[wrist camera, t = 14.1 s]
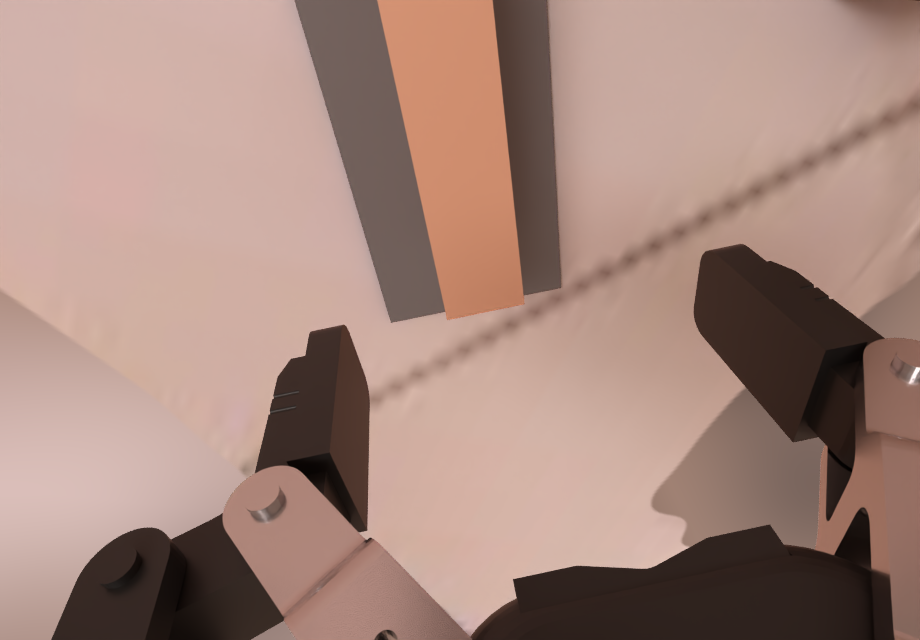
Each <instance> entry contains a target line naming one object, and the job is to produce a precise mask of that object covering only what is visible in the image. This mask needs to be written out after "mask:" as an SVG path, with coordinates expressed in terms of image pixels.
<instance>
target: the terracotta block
mask: <svg viewBox="0 0 920 640" xmlns="http://www.w3.org/2000/svg"><path fill="white" fill-rule="evenodd" d="M377 2H378V6H379V11H380V15H381V20H382V24H383V29H384V34H385V38H386V43H387V47H388V52H389V56H390V61H391V66H392V70H393V75H394V79H395V84H396V88H397V93H398V98H399V102H400V107H401V111H402V116H403V120H404V125H405V130H406V134H407V139H408V143H409V148H410V152H411V157H412V162H413V166H414V171H415V175H416V180H417V184H418V189H419V194H420V198H421V203H422V207H423V212H424V216H425V221H426V226H427V230H428V235H429V239H430V244H431V248H432V253H433V258H434V262H435V267H436V271H437V276H438V280H439V285H440V289H441V294H442V299H443V303H444V308H445V312H446V317H447V320H450V319H455V318H460V317H465V316H469V315H474V314H479V313H484V312H489V311H494V310H498V309H503V308H508V307H513V306H518V305H523V304H524V295H523V285H522V276H521V266H520V257H519V247H518V237H517V228H516V218H515V209H514V199H513V190H512V180H511V171H510V161H509V152H508V142H507V133H506V123H505V114H504V104H503V95H502V85H501V76H500V66H499V57H498V47H497V38H496V28H495V18H494V9H493V0H377Z"/></svg>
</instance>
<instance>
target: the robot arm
mask: <svg viewBox="0 0 920 640" xmlns="http://www.w3.org/2000/svg"><path fill="white" fill-rule="evenodd" d="M694 318H695V322H696V325H697V328H698V330H699V332H700V333H701V335H702V336H703V337H704V338H705V340H706V341H707V342H708V343H709V344H710V346H711V347H712V348H713V349H714V350H715V351H716V353H717V354H718V355H719V356H720V357H721V358H722V360H723V361H724V362H725V363H726V364H727V365H728V367H729V368H730V369H731V370H732V371H733V372H734V374H735V375H736V376H737V377H738V378H739V380H740V381H741V382H742V383H743V384H744V385H745V387H746V388H747V389H748V390H749V391H750V392H751V394H752V395H753V396H754V397H755V398H756V399H757V401H758V402H759V403H760V404H761V405H762V406H763V408H764V409H765V410H766V411H767V412H768V413H769V415H770V416H771V417H772V418H773V419H774V420H775V422H776V423H777V424H778V425H779V426H780V428H781V429H782V430H783V431H784V432H785V434H786V435H787V436H788V437H789V438H790V439H791V441H792V442H797V441H802V440H807V439H811V438H816V437H819V438H820V439H821V440H822V441H823V442H824V443H825V446H824V449H823V451H822V454H821V469H820V493H819V520H818V536H817V542H816V546H815V550H814V549H810V548H805V547H799V546H792V545H783V543H782V542H781V540H780V539H779V537H778V536H777V534H776V533H775V531H774V530H773V529H772V527H771V526H770V525H766V526H761V527H756V528H752V529H747V530H742V531H737V532H733V533H728V534H723V535H719V536H714V537H709V538H706V539H704V540H702V541H701V542H699V543H697V544H695V545H693V546H691V547H690V548H688V549H686V550H684V551H682V552H680V553H679V554H677V555H675V556H673V557H671V558H669V559H668V560H666V561H664V562H662V563H660V564H658V565H657V566H654V567H652V568H648V569H633V568H612V567H591V566H573V567H569V568H564V569H559V570H555V571H550V572H545V573H541V574H536V575H531V576H526V577H522V578H517V579H513V581H514V587H515V592H516V597H517V598H516V599H515V600H513V601H511V602H509V603H507V604H505V605H504V606H502V607H501V608H500V609H498V610H497V611H496V612H494V613H493V614H491V615H490V616H489V617H488V618H487V619H486V620H485V621H484V622H483V623H482V624H481V625H480V626H479V627H478V628H477V629H476V630H475V632H474V633H473V634H472V635H471V637H470V636H469V635H468V634H467V633H466V632H465V631H464V630H463V629H462V628H461V627H460V626H459V625H458V624H457V623H456V622H455V621H454V620H453V619H452V618H451V617H450V616H449V615H448V614H447V613H446V612H445V611H444V610H443V609H442V608H441V606H440V605H439V604H438V603H437V602H436V601H435V600H434V599H433V598H432V597H431V596H430V595H429V594H428V593H427V592H426V591H425V590H424V589H423V588H422V587H421V586H420V585H419V584H418V583H417V582H416V581H415V580H414V579H413V578H412V577H411V576H410V574H409V573H408V572H407V571H406V570H405V569H404V568H403V567H402V566H401V565H400V564H399V563H398V562H397V561H396V560H395V559H394V558H393V557H392V556H391V555H390V554H389V553H388V552H387V551H386V550H385V549H384V548H383V547H382V546H381V545H380V544H379V543H378V542H377V541H375V540H374V539H372V538H369V539H368V540H366V539H365V538H364V537H362V536H361V535H360V534H359V532H363V531H367V515H368V463H369V411H370V400H369V391H368V385H367V381H366V377H365V374H364V372H363V369H362V366H361V363H360V361H359V358H358V355H357V353H356V350H355V347H354V344H353V342H352V339H351V336H350V333H349V331H348V329H347V327H346V326H345V325H340V326H335V327H331V328H326V329H321V330H316V331H311V332H310V334H309V339H308V344H307V350H306V355H305V356H303V357H298V358H293V359H291V360H290V361H289V362H288V364H287V365H286V366H285V368H284V369H283V371H282V372H281V373H280V375H279V376H278V378H277V382H276V387H275V391H274V395H273V396H274V399H272V403H271V408H270V415H269V416H268V420H267V424H266V429H265V433H264V437H263V441H262V445H261V449H260V454H259V458H258V462H257V466H256V470H255V474H253V475H252V476H250V477H249V478H247V479H246V480H245V481H243V482H242V483H241V484H240V485H239V486H238V487H237V488H236V489H235V490H234V492H233V493H232V494H231V496H230V497H229V499H228V501H227V503H226V505H225V508H224V512H223V513H222V514H221V515H219V516H217V517H215V518H214V519H212V520H210V521H208V522H206V523H204V524H202V525H200V526H198V527H196V528H194V529H192V530H190V531H188V532H185V533H184V534H181V535H179V536H177V537H175V538H173V539H170V538H169V537H168V536H167V535H166V534H165V533H164V532H162V531H161V530H159V529H156V528H140V529H136V530H133V531H130V532H128V533H125V534H123V535H121V536H119V537H118V538H116V539H114V540H113V541H111V542H110V543H109V544H107V545H106V546H105V547H103V548H102V549H101V550H100V551H99V552H98V553H97V554H96V555H95V556H94V557H93V558H92V559H91V560H90V561H89V563H88V564H87V565H86V566H85V568H84V569H83V570H82V572H81V574H80V575H79V577H78V579H77V581H76V584H75V586H74V588H73V590H72V593H71V595H70V597H69V600H68V602H67V604H66V607H65V609H64V611H63V614H62V616H61V619H60V621H59V623H58V625H57V628H56V630H55V633H54V635H53V637H52V640H251V639H252V638H254V637H256V636H258V635H259V634H261V633H263V632H265V631H266V630H268V629H270V628H272V627H273V626H275V625H277V624H279V623H280V622H282V621H284V622H285V623H286V625H287V626H288V628H289V630H290V631H291V633H292V634H293V635H294V637H295V638H296V640H920V341H917V340H913V339H905V338H886V339H885V338H884V337H882V336H881V335H880V334H878V333H877V332H876V331H874V330H873V329H871V328H870V327H869V326H868V325H866V324H865V323H864V322H862V321H861V320H860V319H858V318H857V317H856V316H854V315H853V314H852V313H850V312H849V311H848V310H846V309H845V308H844V307H843V306H841V305H840V304H839V303H837V302H836V301H835V300H833V299H829V296H828V295H827V294H825V293H824V292H823V291H821V290H820V289H819V288H814V285H813V284H812V283H811V282H809V281H808V280H807V279H805V278H804V277H803V276H802V275H800V274H799V273H798V272H796V271H794V270H792V269H789V268H787V267H784V266H782V265H779V264H777V263H774V262H772V261H768V262H766V261H765V260H764V259H763V258H761V257H760V256H759V255H758V254H756V253H755V252H754V251H753V250H751V249H750V248H749V247H747V246H746V245H743V244H738V245H733V246H729V247H724V248H719V249H714V250H709V251H706V252H705V253H704V254H703V255H702V258H701V262H700V268H699V275H698V282H697V289H696V296H695V303H694Z"/></svg>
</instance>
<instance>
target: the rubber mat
mask: <svg viewBox="0 0 920 640" xmlns="http://www.w3.org/2000/svg"><path fill="white" fill-rule="evenodd" d="M295 3H296V7H297V10H298V13H299V17H300V20H301V23H302V27H303V30H304V33H305V37H306V40H307V43H308V47H309V50H310V53H311V57H312V60H313V63H314V67H315V70H316V73H317V77H318V80H319V83H320V87H321V90H322V93H323V97H324V100H325V103H326V107H327V110H328V113H329V117H330V120H331V123H332V127H333V130H334V134H335V137H336V140H337V144H338V147H339V150H340V154H341V157H342V160H343V164H344V167H345V170H346V174H347V177H348V180H349V184H350V187H351V190H352V194H353V197H354V200H355V204H356V207H357V210H358V214H359V217H360V220H361V224H362V227H363V230H364V234H365V237H366V240H367V244H368V247H369V250H370V254H371V257H372V260H373V264H374V267H375V270H376V274H377V277H378V281H379V284H380V287H381V291H382V294H383V297H384V301H385V304H386V307H387V311H388V314H389V317H390V321H391V323H392V322H397V321H402V320H407V319H412V318H417V317H422V316H426V315H431V314H436V313H441V312H445V308H444V303H443V299H442V294H441V289H440V285H439V280H438V276H437V271H436V267H435V262H434V258H433V253H432V248H431V244H430V239H429V235H428V230H427V226H426V221H425V216H424V212H423V207H422V203H421V198H420V194H419V189H418V184H417V180H416V175H415V171H414V166H413V162H412V157H411V152H410V148H409V143H408V139H407V134H406V130H405V125H404V120H403V116H402V111H401V107H400V102H399V98H398V93H397V88H396V84H395V79H394V75H393V70H392V66H391V61H390V56H389V52H388V47H387V43H386V38H385V34H384V29H383V24H382V20H381V15H380V11H379V6H378V2H377V0H295ZM493 9H494V18H495V28H496V38H497V47H498V57H499V66H500V76H501V85H502V95H503V104H504V114H505V123H506V133H507V142H508V152H509V161H510V171H511V180H512V190H513V199H514V209H515V218H516V228H517V237H518V247H519V257H520V266H521V276H522V285H523V295H528V294H533V293H538V292H543V291H548V290H553V289H557V288H561V274H560V254H559V234H558V214H557V195H556V175H555V155H554V136H553V116H552V96H551V76H550V57H549V37H548V17H547V0H493Z"/></svg>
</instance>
